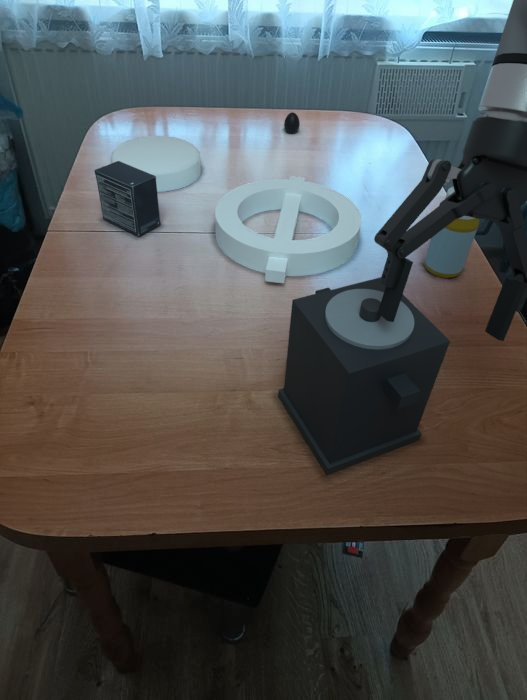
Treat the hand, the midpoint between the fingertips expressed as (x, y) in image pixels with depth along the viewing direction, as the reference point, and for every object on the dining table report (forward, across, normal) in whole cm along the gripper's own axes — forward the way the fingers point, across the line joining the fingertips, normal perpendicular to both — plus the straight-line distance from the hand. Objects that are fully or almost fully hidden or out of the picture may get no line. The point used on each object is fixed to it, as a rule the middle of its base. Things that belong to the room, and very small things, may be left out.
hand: (441, 327), depth 59 cm
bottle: (-1, -22, -40) cm, 45 cm away
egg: (-20, -2, -101) cm, 103 cm away
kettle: (+17, +3, -10) cm, 20 cm away
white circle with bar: (+1, +6, -54) cm, 54 cm away
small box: (+6, +35, -61) cm, 71 cm away
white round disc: (-4, +32, -82) cm, 88 cm away
